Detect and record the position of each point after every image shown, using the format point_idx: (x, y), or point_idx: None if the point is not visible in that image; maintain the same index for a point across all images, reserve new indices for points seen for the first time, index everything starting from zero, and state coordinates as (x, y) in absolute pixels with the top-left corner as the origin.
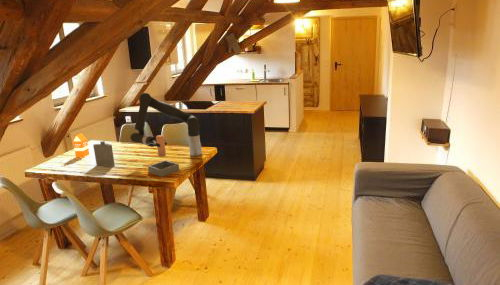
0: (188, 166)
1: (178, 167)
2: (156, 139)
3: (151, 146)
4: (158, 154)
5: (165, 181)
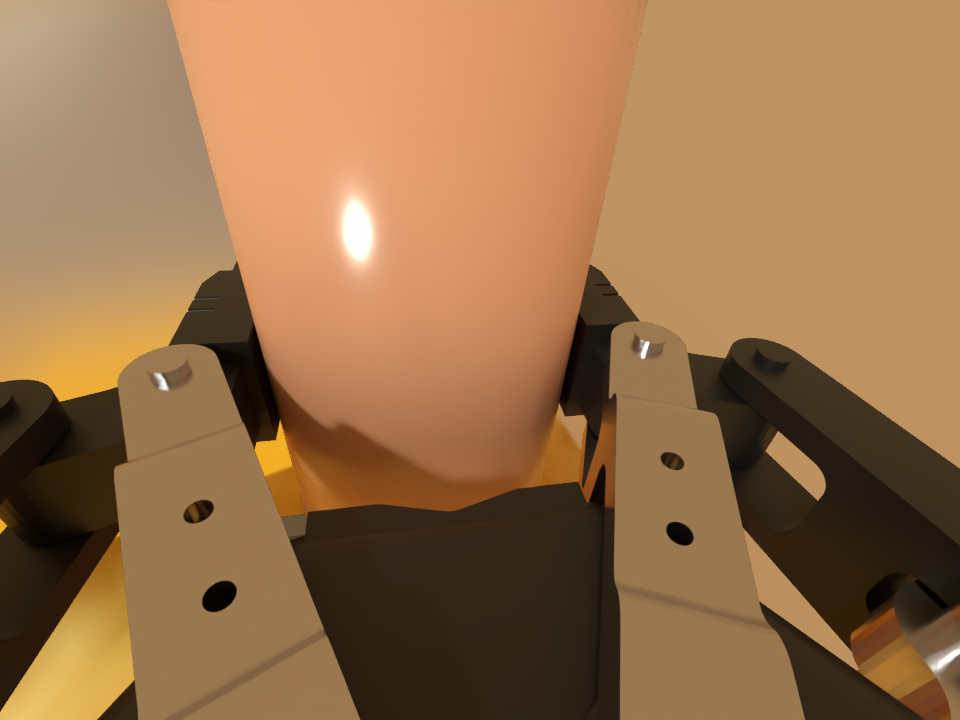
0: (69, 614)
1: None
2: (610, 166)
3: (781, 482)
4: None
5: (555, 422)
